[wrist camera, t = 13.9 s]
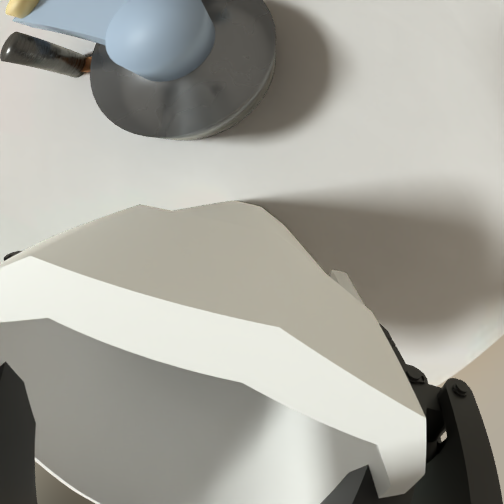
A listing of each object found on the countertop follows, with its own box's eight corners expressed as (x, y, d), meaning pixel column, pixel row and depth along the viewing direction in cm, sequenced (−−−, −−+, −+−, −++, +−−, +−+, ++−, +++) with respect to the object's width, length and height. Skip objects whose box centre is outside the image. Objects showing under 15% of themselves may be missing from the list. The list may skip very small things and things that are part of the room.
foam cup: (343, 295, 16) (420, 509, 4) (208, 346, 18) (148, 532, 6) (274, 140, 13) (287, 12, 1) (129, 219, 15) (-61, 341, 3)
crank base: (231, -27, 10) (211, -93, 4) (303, 100, 13) (325, 59, 6) (68, 65, 12) (-1, 47, 6) (111, 190, 15) (34, 214, 9)
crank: (233, 22, 9) (220, -17, 6) (181, 95, 10) (149, 76, 7) (61, -14, 7) (30, -30, 4) (27, 38, 8) (-8, 29, 5)
